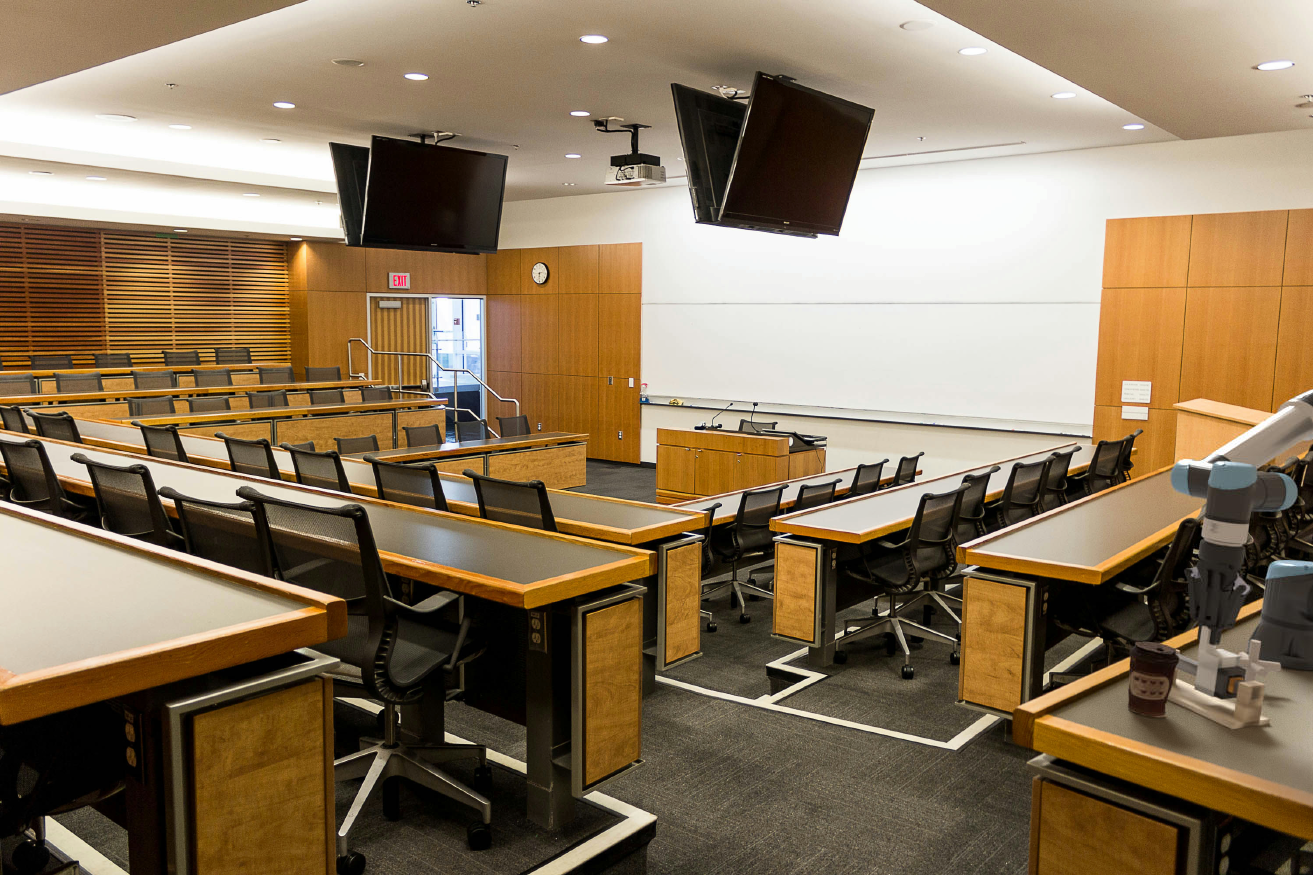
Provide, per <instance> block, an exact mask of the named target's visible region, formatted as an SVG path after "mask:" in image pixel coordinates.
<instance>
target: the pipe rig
mask: <svg viewBox="0 0 1313 875" xmlns="http://www.w3.org/2000/svg"><path fill="white" fill-rule="evenodd" d="M1175 649H1176V653H1175V654H1176V655H1178V657H1179V663H1178V664H1177V666H1176V668H1175V673H1174V678H1173V684H1172V688H1171V691H1170V693H1169V695H1168V699H1167V701H1170V702H1172V703H1174V704H1177V705H1179V706H1180V707H1183V708H1185V709H1188V710H1189V711H1192V712H1194V713H1197V714H1198V715H1200V716H1203V717H1205V718H1207V719H1209V720H1211V721H1214V722H1216V723H1218V724H1220V725H1222V726H1224V727H1227V728H1229V729H1231V730H1234V729H1235V730H1236V729H1237V730H1238V729H1242V728H1243V729H1244V728H1251V727H1258V726H1266V725H1269V724H1270V720H1271V719H1270V718H1269V717H1267V716H1264V715H1262V710H1263V708H1262V707H1263V703H1264V696H1265V689H1266V684H1264V683H1262V682H1259V681H1257V680H1255V681H1248V682H1247V681H1244V679H1243V678H1240V677H1234V676H1229V678H1228V685H1227V690H1228V692H1231V693H1237V698H1235V699H1236V700H1235V702H1232V701H1229V700H1228V699H1223V700H1221V699H1219V698H1217V697H1211V696H1209V695H1206V694H1204V693H1202V692H1199V691H1197V690H1195V689H1194V688H1195V685H1192V684H1190V683H1187V682H1185V681H1183V680H1181V679H1179V678H1177V676H1178V670H1180V671H1183V673H1184V672H1185V673H1187V674H1189V675H1192V676H1194V677H1196V674H1197V667H1198V661H1197V660H1195V659H1192V658H1189V657H1187V656H1184V655H1183V654H1181V650H1179V649H1177V648H1175Z"/></svg>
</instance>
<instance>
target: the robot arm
mask: <svg viewBox="0 0 1313 875" xmlns="http://www.w3.org/2000/svg"><path fill="white" fill-rule="evenodd" d="M1312 440H1313V388H1312V389H1309V390H1307V391H1305V392H1304V391H1303V392H1302V393H1300V394H1298V395H1295V396H1294V397H1292V398H1291V399H1289V400H1287V401H1285V402H1284V403H1282V404H1281V405H1280V406H1279V407H1278V409H1277V413H1275V414H1272V416H1270V417H1268V418H1266V419H1265V420H1264V421H1262V422H1259V423H1258V424H1257V425H1255V426H1253V427H1252V428H1250V429H1249V430H1247V431H1246V432H1244V433H1243V434H1241V435H1239V436H1236V437H1235V438H1234V439H1233V440H1230V441H1229V442H1228V443H1226V444H1224V445H1223V446H1221V447H1220V448H1218V449H1217V450H1214V451H1213V452H1212V453H1210V454H1208V455H1206V456H1205V457H1203V458H1202V459H1199V460H1196V459H1194V458H1192V459H1188V458H1185V459H1181V460H1178V461H1177V462H1176V463H1175V464H1174V466H1173V467H1172V469H1171V472H1170V484H1171V486H1172V488H1173V490H1174V491H1176V492H1177V493H1179V494H1183V495H1187V496H1190V497H1192V498H1197V499H1204V500H1206V501H1205V503H1206V504H1205V511H1204V516H1203V522H1202V523H1203V524H1202V527H1201V528H1202V529H1201V537H1203V539H1201V540H1200V543H1199V549H1198V558H1199V560H1198V562H1197V563H1196V566H1194V567H1191V568H1185V569H1184V571H1183V572H1184V575H1185V578H1186V580H1187V590H1188V591H1187V592H1188V601H1189V602H1188V606H1189V617H1190V618H1191V619H1192V620H1193V619H1194V620H1195V621H1196V622H1197V623H1198V630H1197V637H1196V638H1197V640H1198V641H1199V644H1198V645H1199V646H1198V652H1197V659H1199V653H1200V651H1204V650H1215V649H1216V648H1217V646H1219V645H1220V644H1221V640H1222V639H1221V638H1222V633H1223V630H1226V629H1229V630H1230V629H1233V628H1234V626H1235V623H1236V621H1237V619H1238V617H1239V614H1240V611H1241V609H1242V607H1243V605H1244V602H1245V599H1246V597H1247V596H1248V595H1249V594H1250V593H1251V592H1252V591H1253V589H1254V587H1253V585H1252V584H1247V583H1246V582H1245V581H1244V579H1243V573H1242V571H1241V567H1242V566H1243V564H1244V560H1245V554H1246V547H1245V545H1244V544H1246V543H1247V541H1248V534H1249V526H1250V518H1251V514H1252V512H1271V513H1272V512H1277V511H1283V510H1286V509H1289V508H1291V507H1292V506H1293V505H1294V503H1295V502H1296V500H1297V498H1298V486H1297V484H1296V482H1295V481H1294V480H1293V478H1291V477H1290V476H1289V475H1287V474H1284V473H1280V472H1274V471H1269V472H1265V471H1264V472H1263V471H1258V469H1259V468H1261V467H1262V466H1264V465H1266V464H1267V463H1268V462H1270V461H1272V460H1273V459H1274V460H1275V459H1276V457H1279V456H1280V455H1282V454H1283V453H1285V452H1286V451H1288V450H1289V449H1291V448H1293V447H1294V446H1296V445H1297V444H1299V443H1300V442H1302V441H1303V442H1304V441H1312ZM1232 589H1233V590H1232ZM1251 640H1258V641H1260V642H1261V646H1260V652H1259V659H1258V660H1261V661H1269V662H1278V663H1280V664H1281V667H1283V668H1289V669H1293V670H1300V671H1301V670H1302V671H1310V670H1313V561H1305V560H1290V559H1289V560H1288V559H1287V560H1275V561H1273V562H1271V563H1270V564H1269V566H1268V568H1267V573H1266V577H1265V585H1264V592H1263V600H1262V606H1261V612H1260V618H1259V622H1258V624H1257V625H1256V627H1255V629H1254V631H1253V632H1252V634H1251V635H1250V637H1249V639H1248V641H1247V646H1246V652H1247V653H1248V654H1249V649H1250V642H1251Z"/></svg>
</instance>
